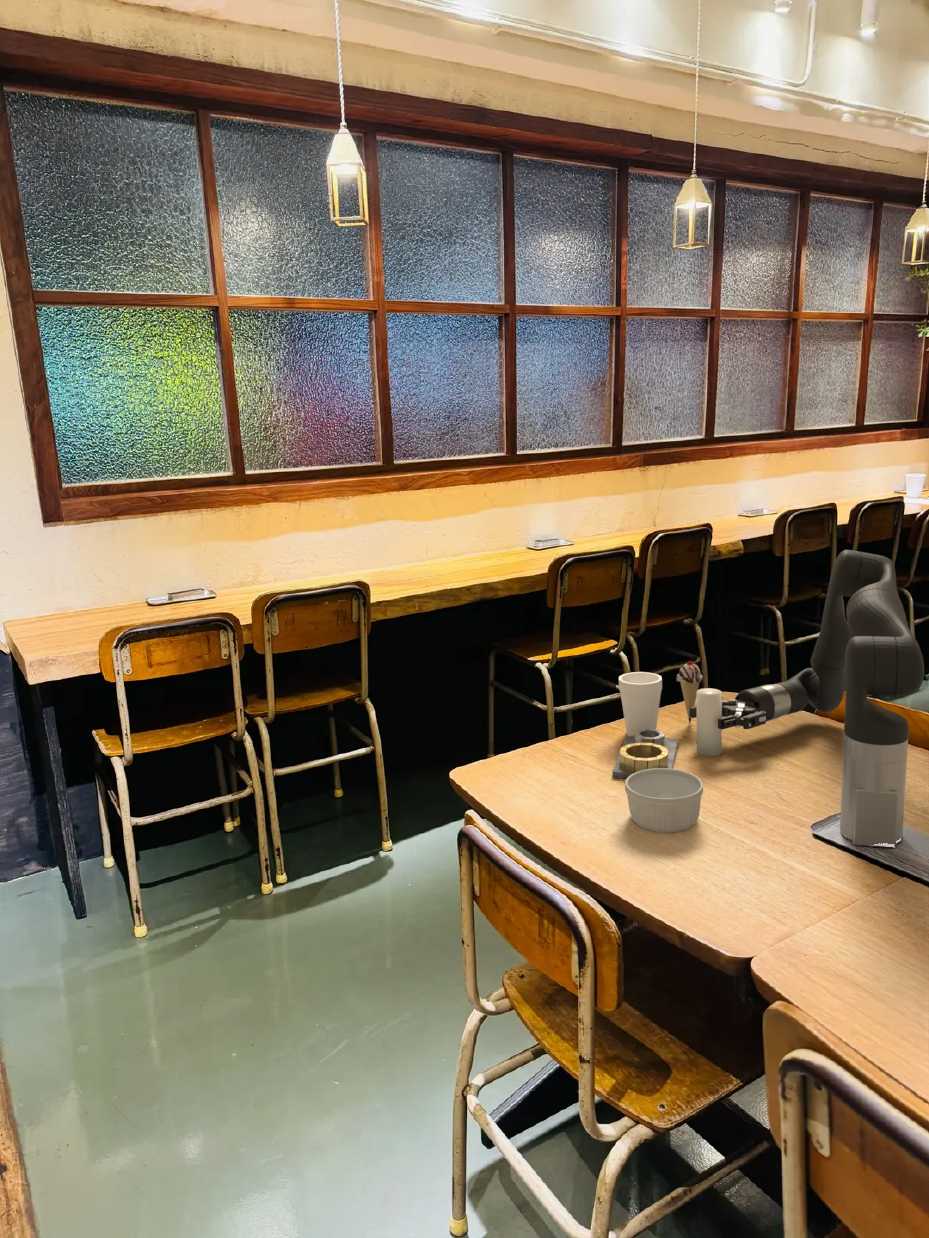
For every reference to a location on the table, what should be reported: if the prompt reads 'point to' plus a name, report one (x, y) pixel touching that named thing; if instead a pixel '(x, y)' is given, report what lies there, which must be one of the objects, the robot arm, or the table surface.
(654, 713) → the foam cup
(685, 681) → the ice cream cone
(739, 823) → the table surface
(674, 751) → the grey ring holder base
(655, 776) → the ramekin
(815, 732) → the table surface
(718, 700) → the white rounded cylinder
